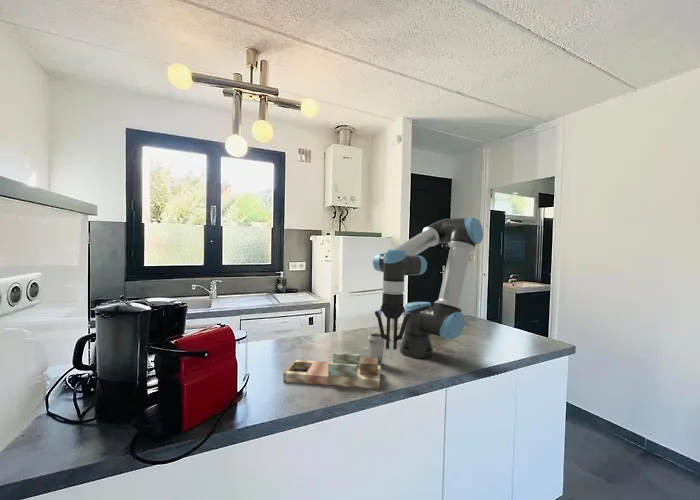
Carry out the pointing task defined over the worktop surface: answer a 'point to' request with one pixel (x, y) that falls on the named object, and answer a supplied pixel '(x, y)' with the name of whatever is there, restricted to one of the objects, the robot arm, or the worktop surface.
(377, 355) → the cup
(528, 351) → the worktop surface
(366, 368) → the block
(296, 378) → the compartment tray
